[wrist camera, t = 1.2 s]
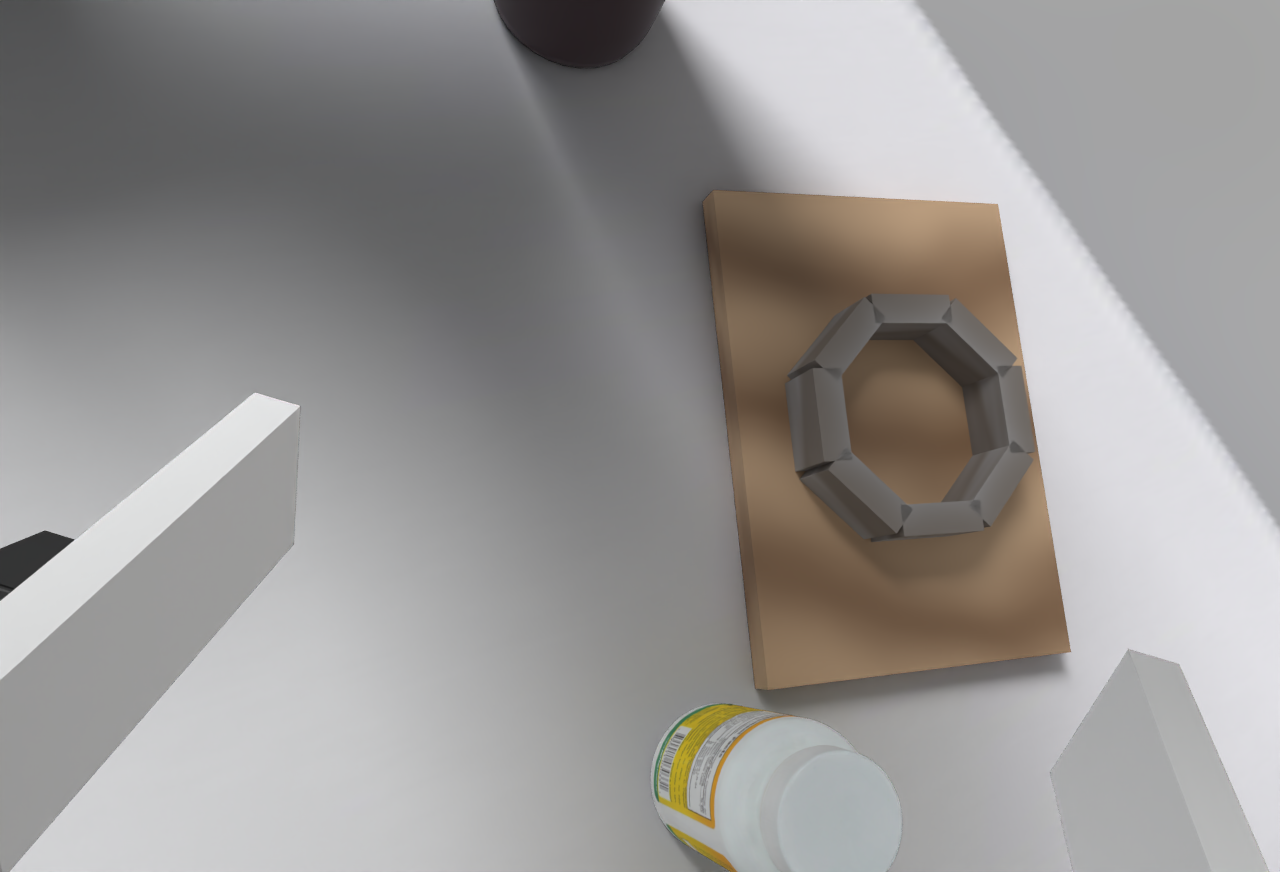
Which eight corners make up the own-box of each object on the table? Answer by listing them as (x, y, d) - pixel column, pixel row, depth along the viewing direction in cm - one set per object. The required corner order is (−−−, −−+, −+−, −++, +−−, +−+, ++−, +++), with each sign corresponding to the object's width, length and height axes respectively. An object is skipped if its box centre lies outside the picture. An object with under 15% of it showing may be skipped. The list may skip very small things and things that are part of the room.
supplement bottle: (626, 737, 36) (726, 771, 27) (749, 679, 38) (881, 692, 29) (678, 878, 36) (798, 960, 27) (800, 813, 37) (950, 869, 29)
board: (702, 202, 41) (736, 163, 38) (981, 214, 46) (1033, 181, 42) (754, 688, 38) (797, 693, 35) (1051, 651, 42) (1113, 652, 39)
